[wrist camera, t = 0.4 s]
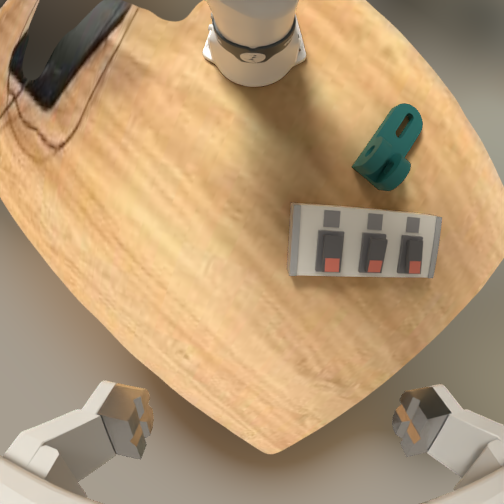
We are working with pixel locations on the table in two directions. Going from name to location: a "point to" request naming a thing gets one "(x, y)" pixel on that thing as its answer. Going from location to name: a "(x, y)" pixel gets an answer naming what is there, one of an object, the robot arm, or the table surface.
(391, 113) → the bracket
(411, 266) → the rocker
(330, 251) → the rocker
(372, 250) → the rocker
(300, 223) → the power strip
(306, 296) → the table surface
